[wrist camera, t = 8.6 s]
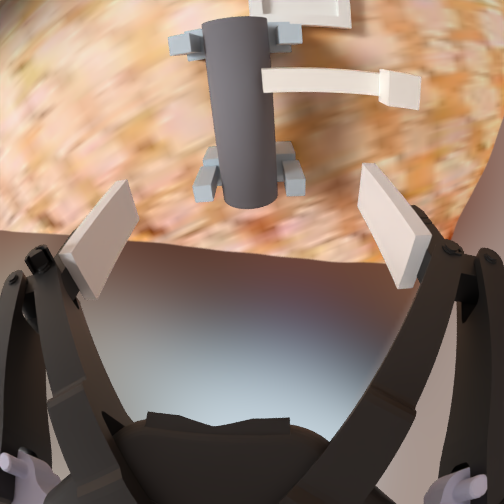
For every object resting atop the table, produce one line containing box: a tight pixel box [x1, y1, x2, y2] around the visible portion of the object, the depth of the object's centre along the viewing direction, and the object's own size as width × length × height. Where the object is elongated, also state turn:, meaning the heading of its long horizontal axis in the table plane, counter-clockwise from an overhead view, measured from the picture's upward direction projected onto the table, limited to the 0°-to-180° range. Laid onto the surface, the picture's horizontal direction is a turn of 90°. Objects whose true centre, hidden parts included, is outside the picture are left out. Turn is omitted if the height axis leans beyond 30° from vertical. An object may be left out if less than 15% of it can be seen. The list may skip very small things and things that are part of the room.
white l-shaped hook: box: [261, 67, 421, 110], centre depth 15 cm, size 2×10×4 cm, turn 94°
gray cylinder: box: [202, 16, 278, 209], centre depth 21 cm, size 16×5×5 cm, turn 5°
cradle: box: [168, 22, 305, 202], centre depth 23 cm, size 16×10×8 cm, turn 5°
